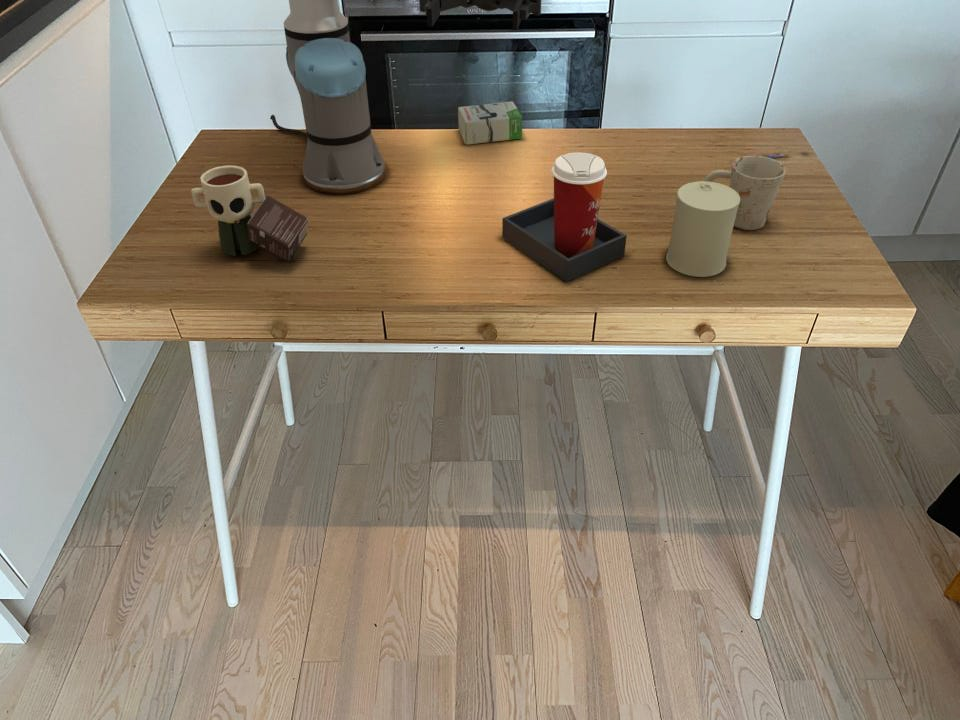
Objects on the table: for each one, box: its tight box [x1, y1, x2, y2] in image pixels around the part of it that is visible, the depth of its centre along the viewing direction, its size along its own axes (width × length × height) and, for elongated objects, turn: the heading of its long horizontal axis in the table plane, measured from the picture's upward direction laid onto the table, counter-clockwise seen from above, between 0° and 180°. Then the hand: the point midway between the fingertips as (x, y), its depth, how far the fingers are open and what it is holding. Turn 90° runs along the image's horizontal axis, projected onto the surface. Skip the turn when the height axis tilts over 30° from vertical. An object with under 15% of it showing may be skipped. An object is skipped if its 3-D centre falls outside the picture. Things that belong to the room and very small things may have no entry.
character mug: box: [190, 164, 266, 257], centre depth 122 cm, size 11×7×13 cm, turn 98°
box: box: [247, 195, 309, 262], centre depth 121 cm, size 6×6×7 cm
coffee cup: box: [551, 151, 608, 258], centre depth 119 cm, size 8×8×15 cm
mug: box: [702, 155, 787, 231], centre depth 128 cm, size 8×13×10 cm, turn 70°
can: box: [665, 180, 740, 278], centre depth 118 cm, size 9×9×12 cm
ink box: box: [457, 101, 523, 145], centre depth 158 cm, size 9×5×12 cm
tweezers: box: [767, 153, 786, 159], centre depth 149 cm, size 2×12×1 cm, turn 103°
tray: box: [501, 197, 627, 283], centre depth 124 cm, size 16×12×4 cm
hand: (471, 19), depth 121 cm, fingers open, 13 cm apart
